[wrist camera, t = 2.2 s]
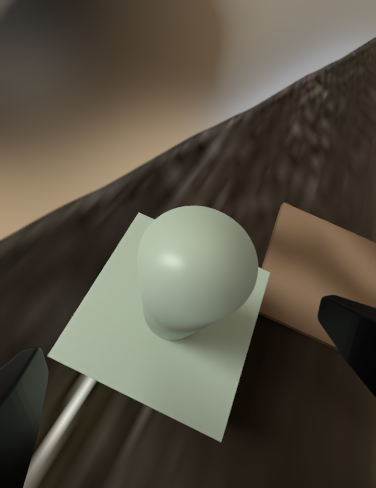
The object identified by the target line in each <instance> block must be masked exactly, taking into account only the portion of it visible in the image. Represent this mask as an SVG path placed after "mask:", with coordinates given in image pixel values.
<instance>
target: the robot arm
mask: <svg viewBox="0 0 376 488" xmlns="http://www.w3.org/2000/svg"><path fill="white" fill-rule="evenodd" d="M317 317H318V321H319V323H320V324H321V326H322V327H323V329H324V330H325V332H326V333H327V335H328V336H329V337H330V339H331V340H332V342H333V343H334V345H335V346H336V347H337V349H338V350H339V352H340V353H341V355H342V356H343V357H344V359H345V360H346V362H347V363H348V364H349V365H350V367H351V368H352V369H353V370H354V372H355V373H356V374H357V375H358V376H359V378H360V379H361V380H362V381H363V383H364V384H365V385H366V386H367V387H368V389H369V390H370V391H371V392H372V393H373V395H374V396H375V397H376V308H374V307H371V306H368V305H365V304H362V303H359V302H356V301H353V300H350V299H346V298H343V297H340V296H337V295H328V296H324V297H322V298H321V300H320V305H319V310H318V315H317ZM47 380H48V368H47V365H46V362H45V359H44V356H43V352H42V350H41V349H40V348H38V347H36V348H30V349H25V350H22V351H21V352H20V353H18V354H17V355H16V356H15V357H14V358H13V359H12V360H10V361H9V362H8V363H7V364H6V365H5V366H4V367H2V368H1V369H0V488H23V486H24V482H25V479H26V475H27V472H28V468H29V465H30V461H31V458H32V454H33V451H34V447H35V443H36V439H37V435H38V430H39V425H40V419H41V414H42V408H43V402H44V397H45V391H46V386H47Z"/></svg>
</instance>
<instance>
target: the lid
mask: <svg viewBox="0 0 376 488" xmlns="http://www.w3.org/2000/svg"><path fill="white" fill-rule="evenodd" d="M269 275H270V272H268V271H266V270H264V269H261V268H259V267H258V260H257V254H256V251H255V248H254V245H253V243H252V241H251V239H250V238H249V236H248V234H247V233H246V232H245V230H244V229H243V228H242V227H241V226H240V225H239V224H238V223H237V222H236V221H234V220H233V219H232V218H230V217H229V216H227V215H226V214H224V213H222V212H220V211H217V210H215V209H211V208H208V207H202V206H184V207H179V208H176V209H173V210H170V211H168V212H166V213H164V214H162V215H161V216H159V217H158V218H157V219H155V220H154V219H152V218H150V217H147V216H145V215H143V214H141V213H138V215H137V216H136V218H135V219H134V221H133V222H132V224H131V226H130V227H129V229H128V230H127V232H126V233H125V235H124V237H123V238H122V240H121V241H120V243H119V244H118V246H117V248H116V249H115V251H114V252H113V254H112V255H111V257H110V259H109V260H108V262H107V263H106V265H105V266H104V268H103V270H102V271H101V273H100V274H99V276H98V277H97V279H96V281H95V282H94V284H93V285H92V287H91V288H90V290H89V292H88V293H87V295H86V296H85V298H84V299H83V301H82V303H81V304H80V306H79V307H78V309H77V310H76V312H75V314H74V315H73V317H72V318H71V320H70V321H69V323H68V325H67V326H66V328H65V329H64V331H63V332H62V334H61V336H60V337H59V339H58V340H57V342H56V343H55V345H54V347H53V348H52V350H51V351H50V353H49V354H48V357H50V358H52V359H54V360H56V361H58V362H60V363H62V364H64V365H67V366H69V367H71V368H73V369H75V370H77V371H79V372H81V373H83V374H85V375H87V376H89V377H91V378H93V379H95V380H97V381H99V382H101V383H103V384H105V385H107V386H109V387H111V388H113V389H115V390H117V391H119V392H121V393H123V394H125V395H127V396H129V397H131V398H133V399H135V400H137V401H139V402H141V403H143V404H145V405H147V406H149V407H151V408H153V409H155V410H157V411H159V412H161V413H163V414H165V415H167V416H169V417H171V418H173V419H175V420H177V421H179V422H181V423H183V424H185V425H188V426H190V427H192V428H194V429H196V430H198V431H200V432H202V433H204V434H206V435H208V436H210V437H212V438H214V439H216V440H218V441H220V442H221V441H222V438H223V435H224V431H225V428H226V424H227V421H228V417H229V414H230V410H231V407H232V403H233V400H234V396H235V393H236V389H237V386H238V382H239V379H240V375H241V372H242V369H243V365H244V362H245V358H246V355H247V351H248V348H249V344H250V341H251V337H252V334H253V330H254V327H255V323H256V320H257V316H258V313H259V309H260V306H261V303H262V299H263V296H264V292H265V289H266V285H267V282H268V278H269Z"/></svg>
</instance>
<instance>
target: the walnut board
mask: <svg viewBox="0 0 376 488" xmlns="http://www.w3.org/2000/svg"><path fill="white" fill-rule="evenodd" d="M261 269H264V270H266V271H268V272H270V275H269V278H268V282H267V285H266V289H265V292H264V296H263V299H262V303H261V306H260V309H259V313H258V314H260V315H262V316H264V317H267V318H269V319H271V320H273V321H275V322H277V323H279V324H282V325H284V326H286V327H288V328H290V329H292V330H295V331H297V332H299V333H301V334H303V335H305V336H307V337H310V338H312V339H314V340H316V341H318V342H320V343H322V344H325V345H327V346H329V347H331V348H333V349H335V350H337V351H339V350H338V349H337V347H336V346H335V345H334V343H333V342H332V340H331V339H330V337H329V336H328V335H327V333H326V332H325V330H324V329H323V327H322V326H321V324H320V323H319V321H318V317H317V315H318V310H319V305H320V300H321V298H322V297H324V296H328V295H337V296H340V297H343V298H346V299H350V300H353V301H356V302H359V303H362V304H365V305H368V306H371V307H374V308H376V243H375V242H372V241H370V240H368V239H366V238H363V237H361V236H359V235H356V234H354V233H352V232H350V231H347V230H345V229H343V228H341V227H338V226H336V225H334V224H331V223H329V222H327V221H325V220H322V219H320V218H318V217H316V216H313V215H311V214H309V213H307V212H304V211H302V210H300V209H297V208H295V207H293V206H291V205H288V204H286V203H283V204H282V205H281V207H280V210H279V213H278V217H277V220H276V223H275V226H274V229H273V233H272V236H271V239H270V242H269V246H268V249H267V252H266V255H265V259H264V262H263V265H262V268H261Z"/></svg>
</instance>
